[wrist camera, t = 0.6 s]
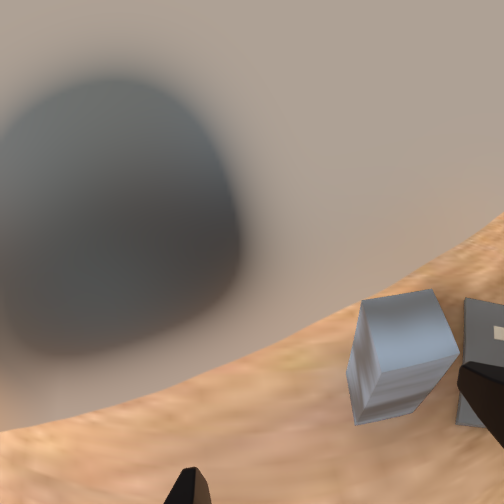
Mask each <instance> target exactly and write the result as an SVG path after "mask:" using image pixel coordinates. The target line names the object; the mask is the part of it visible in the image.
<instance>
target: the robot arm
mask: <svg viewBox="0 0 504 504" xmlns="http://www.w3.org/2000/svg"><path fill="white" fill-rule="evenodd" d="M457 386H458V389H459V390H460V392H461V393H462V395H463V396H464V398H465V399H466V401H467V402H468V404H469V405H470V407H471V408H472V410H473V411H474V413H475V414H476V415H477V417H478V418H479V419H480V421H481V422H482V423H483V424H484V425H485V427H486V428H487V429H488V430H489V431H490V432H491V434H492V435H493V436H494V437H495V439H496V440H497V441H498V442H499V443H500V445H501V446H502V447H503V448H504V367H501V366H495V365H490V364H484V363H479V362H474V361H468V362H466V363H465V364H463V365H462V366H461V367H460V369H459V375H458V381H457ZM164 504H212V503H211V498H210V493H209V488H208V484H207V481H206V480H205V478H204V477H203V475H202V474H201V472H200V471H199V469H198V468H197V467H190V468H185V469H183V470H182V472H181V473H180V475H179V477H178V479H177V481H176V482H175V484H174V486H173V488H172V489H171V491H170V493H169V495H168V497H167V498H166V500H165V502H164Z"/></svg>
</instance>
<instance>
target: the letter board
mask: <svg viewBox="0 0 504 504" xmlns="http://www.w3.org/2000/svg"><path fill="white" fill-rule="evenodd" d="M468 361H474V362H479V363H484V364H490V365H495V366H501V367H504V305H500V304H495V303H490V302H485V301H481V300H476V299H471V298H465V300H464V348H463V364H465V363H466V362H468ZM455 424H456V425H464V426H473V427H483V428H486V427H485V425H484V424H483V423H482V422H481V421H480V419H479V418H478V417H477V415H476V414H475V413H474V411H473V410H472V408H471V407H470V405H469V404H468V402H467V401H466V399H465V398H464V396H463V395H462V393H461V392H460V396H459V404H458V411H457V417H456V423H455Z"/></svg>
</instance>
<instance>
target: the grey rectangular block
mask: <svg viewBox="0 0 504 504" xmlns="http://www.w3.org/2000/svg"><path fill="white" fill-rule="evenodd" d="M459 354H460V351H459V349H458V346H457V344H456V341H455V339H454V336H453V334H452V332H451V329H450V327H449V325H448V322H447V320H446V318H445V316H444V313H443V311H442V309H441V307H440V305H439V303H438V300H437V298H436V296H435V294H434V292H433V290H432V289H427V290H422V291H416V292H411V293H405V294H399V295H393V296H387V297H381V298H374V299H368V300H362V301H361V307H360V312H359V317H358V322H357V327H356V332H355V336H354V341H353V346H352V350H351V354H350V359H349V363H348V367H347V371H346V376H347V381H348V387H349V393H350V398H351V404H352V410H353V417H354V423H355V426H356V425H361V424H366V423H371V422H376V421H381V420H385V419H389V418H394V417H398V416H402V415H406V414H409V413H412V412H413V411H414V410H415V409H416V408H417V407H418V406H419V404H420V403H421V402H422V401H423V400H424V399H425V397H426V396H427V395H428V394H429V393H430V392H431V390H432V389H433V388H434V387H435V385H436V384H437V383H438V382H439V380H440V379H441V378H442V377H443V375H444V374H445V373H446V371H447V370H448V369H449V367H450V366H451V365H452V363H453V362H454V361H455V359H456V358H457V357H458V355H459Z"/></svg>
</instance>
